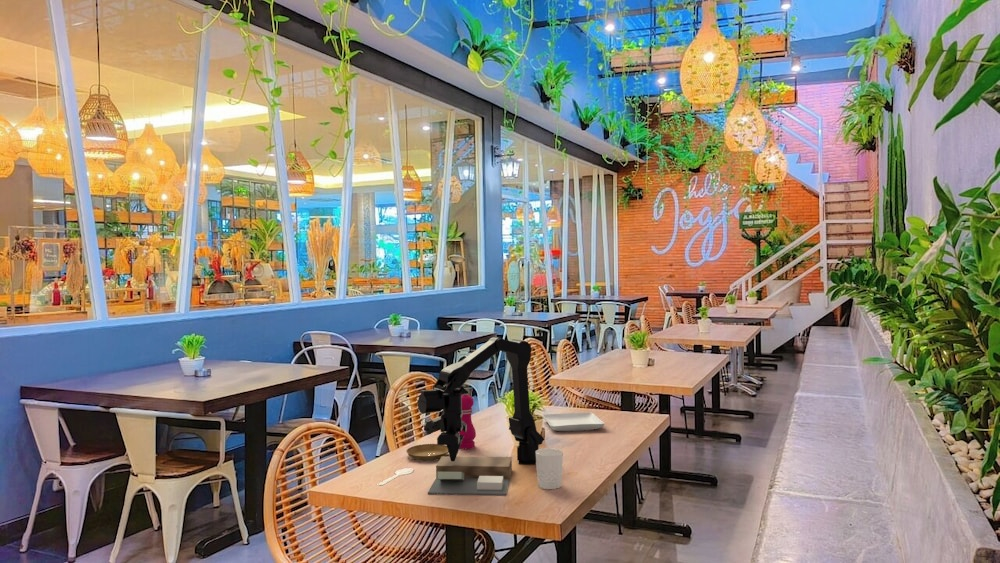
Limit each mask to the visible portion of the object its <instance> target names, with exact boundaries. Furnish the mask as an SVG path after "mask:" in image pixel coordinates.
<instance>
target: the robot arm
mask: <svg viewBox="0 0 1000 563" xmlns="http://www.w3.org/2000/svg"><path fill="white" fill-rule="evenodd" d="M499 352H503V353H506V354H505V355H506V359H507V361H508V363H509V365H510V367H511V370H512V371H511V374H512V376H511V377H512V386H513V388H512V389H513V390H512V391H513V403H514V404H513V405H514V413H513V415H512V416H511V417H508V422H509V423H508V424H509V426H508V427H509V428H508V430H510V433H511V435H513V437H514V439H515V441H516V442H518V445H517V446H516V447H517V448H516V452H517V453H516V455H517V456H516V457H517V462H518V464H519V465H521V464H522V465H536V450H538V449H540V448H539V445H542V444H543V441H544V437H543V435H542V434H540V432H538V431H537V426H536V421H535V419H534V417H533V415H532V412H531V408H530V406H531V405H530V393H529V392H530V391H529V390H530V389H529V377H528V367H529V364H530V362H531V359H532V345H531V344H530V343H529V342H528V341H526V340H521V339H510V340H508V339H504V338H502V337H497V336H493V337H491V338H489V339H488V341H486V342H485V343H483V344H482V345H481V346H480V347H478V348H477V349H475V350H474V351H473V352H471V353H470V354H469V355H468V356H466V357H464V359H462V360H460V361H458V362H454V363H452V364H449V365H448V366H446V367H444V368H443V369H441V371H439V377H438V379H437V380H436V382H435V384H434V385H433V387H432V389H421V390H420V395H419V396H418V400H417V409H418V411H419V412H420V414H422V415H423V414H424V415H425V414H431V413H438V412H441V411H442V413H441V414H440V417H436V418H434V419H430V420H426V422H425V423H424V424H423V426H424V428H423V431H424V432H425V434H426V435H427V436H429V435H432V434H433V433H435V432H439V431H440V434H439V435H438V436H437V437H436V444H438V445H446V446H447V448H448V455H449V456H450V459H451V461H455V459H456V457H458V453H459V450H460V449H459V448H460V445H461V443H462V440H463V437H464V435H460V433H459V432H461V431H462V430H464V432H466V431H467V424H466V423H465V422H464V421H462V415H463V411H462V395H463V394H467V395H469V391H468V390H467V389H466V388H465V387H464V384H465V383H466V382H467V381H468V380H469V378H470V377H471V374H472V373H473V372H475V371H476V370H477V369H478V368H479V367H480V366H482V365H484V364H485V363H486V362H487V361H489V360H490V359H491V358H492V357H494V356H495V355H496V354H497V353H499Z"/></svg>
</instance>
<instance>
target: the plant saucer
mask: <svg viewBox="0 0 1000 563" xmlns="http://www.w3.org/2000/svg"><path fill="white" fill-rule="evenodd" d="M428 453H429V454H430V453H431V454H430V456H428V455H429V454H428ZM433 453H435V454H433ZM406 454H407V455H408V456H409V457H410V458H411V459H413V460H415V461H418V462H434V460H435V461H439V460H440V459H441V457H442V456H448V455H449V452H448V448H447V445H438V444H437V443H424V444H422V443H421V444H416V445H412V446H410V447H408V448H407V449H406Z"/></svg>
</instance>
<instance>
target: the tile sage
mask: <svg viewBox="0 0 1000 563" xmlns="http://www.w3.org/2000/svg"><path fill="white" fill-rule="evenodd" d="M437 479H439V480H464V473H463V472H437Z"/></svg>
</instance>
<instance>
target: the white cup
mask: <svg viewBox="0 0 1000 563" xmlns="http://www.w3.org/2000/svg"><path fill="white" fill-rule="evenodd" d="M563 455H564V452H563V450H561V449H559V448H554V447H544V448H539V449H538V450H536V464H535V465H536V466H535V468H536V476H537V487H538V486H539V487H538V488H539V489H542V488H543V489H542V490H548V489H552V490H557V489H556V488H558V489H559V487H560V488H561V487H562V479H563V460H564V458H563V457H564V456H563Z"/></svg>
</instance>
